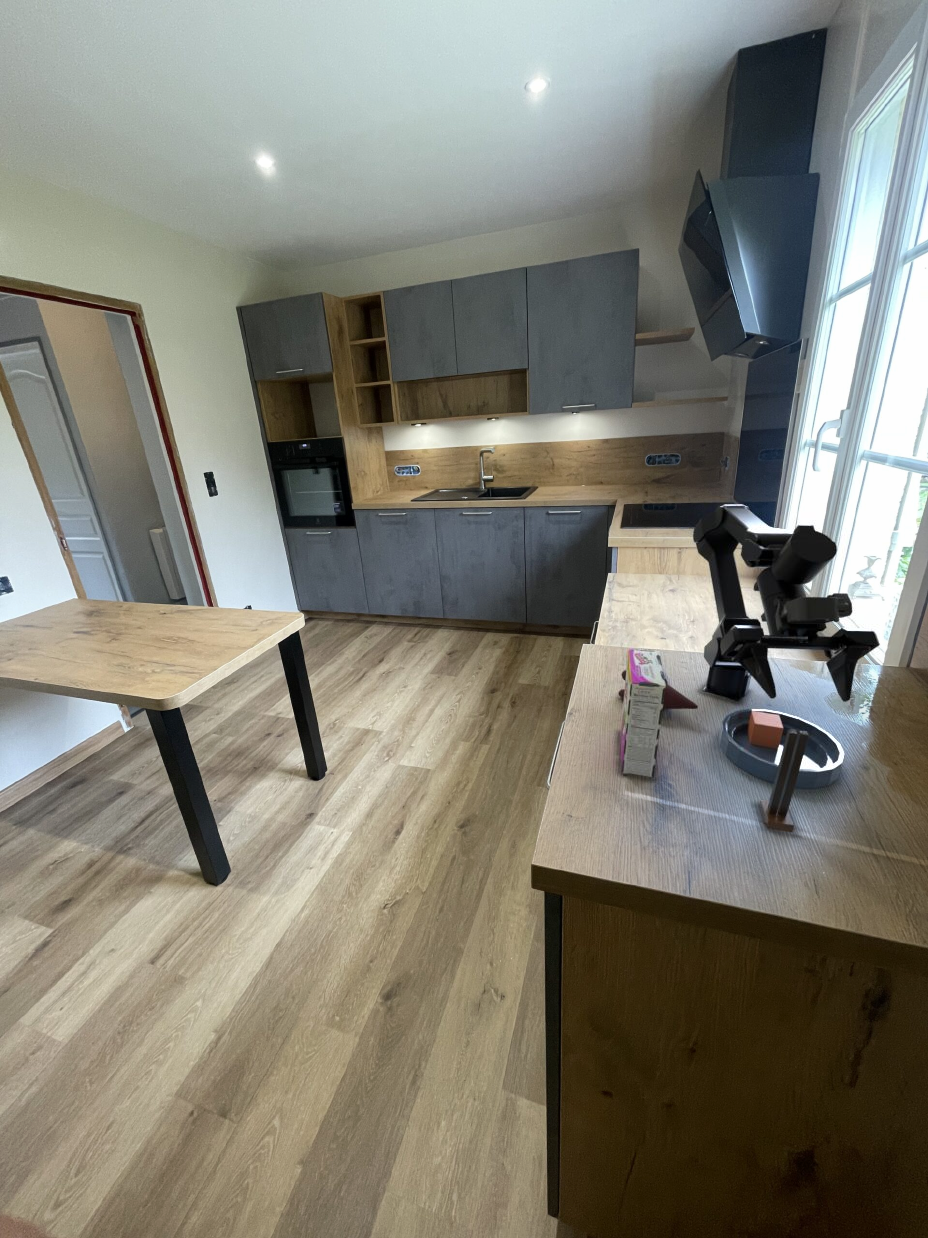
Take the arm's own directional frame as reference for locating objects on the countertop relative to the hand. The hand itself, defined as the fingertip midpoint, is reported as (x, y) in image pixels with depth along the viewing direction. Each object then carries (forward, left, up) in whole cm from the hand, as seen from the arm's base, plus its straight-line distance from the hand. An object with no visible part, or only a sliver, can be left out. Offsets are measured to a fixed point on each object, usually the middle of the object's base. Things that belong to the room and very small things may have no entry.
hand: (809, 699), depth 66 cm
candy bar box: (-20, -8, -14) cm, 26 cm away
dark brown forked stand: (0, -9, -14) cm, 17 cm away
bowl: (-3, +6, -14) cm, 16 cm away
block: (-5, +8, -14) cm, 17 cm away
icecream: (-23, +7, -14) cm, 28 cm away
